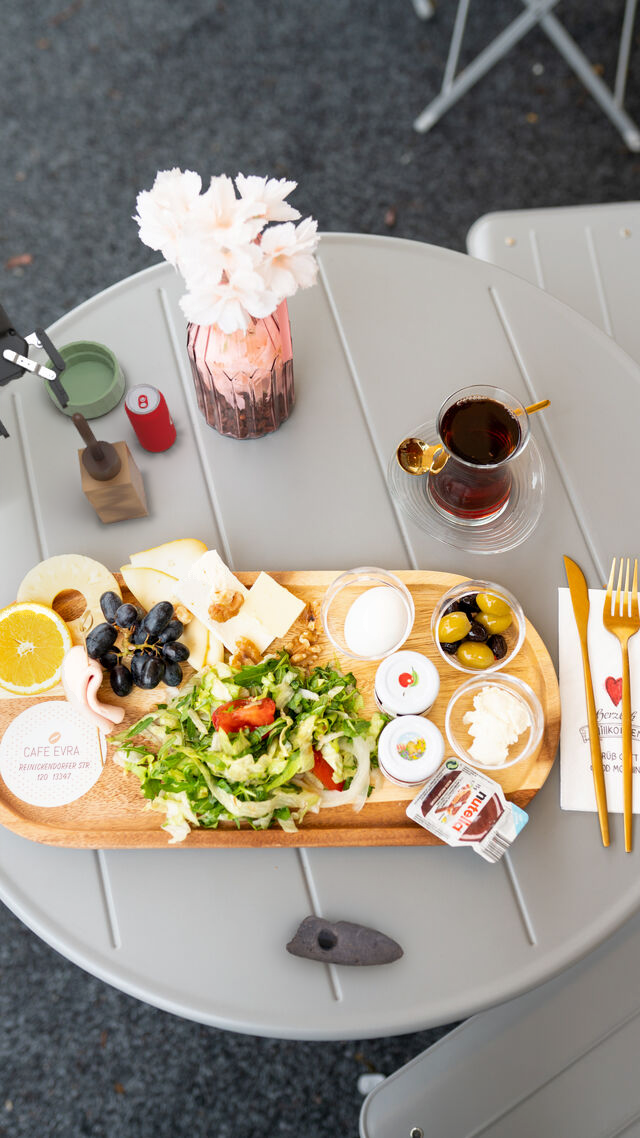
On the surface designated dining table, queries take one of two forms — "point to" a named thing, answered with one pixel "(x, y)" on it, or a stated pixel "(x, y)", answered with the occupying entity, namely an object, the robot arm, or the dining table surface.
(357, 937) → the perforated stone tool
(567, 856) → the dining table surface
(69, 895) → the dining table surface
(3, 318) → the robot arm
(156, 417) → the beverage can
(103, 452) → the brown handled round part
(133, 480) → the wooden square block
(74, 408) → the bowl
